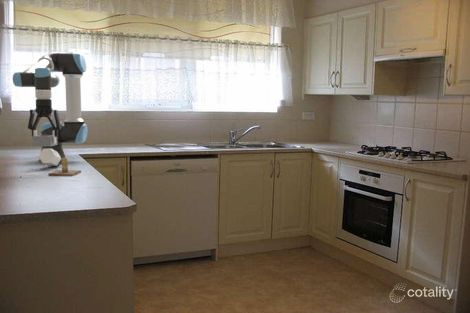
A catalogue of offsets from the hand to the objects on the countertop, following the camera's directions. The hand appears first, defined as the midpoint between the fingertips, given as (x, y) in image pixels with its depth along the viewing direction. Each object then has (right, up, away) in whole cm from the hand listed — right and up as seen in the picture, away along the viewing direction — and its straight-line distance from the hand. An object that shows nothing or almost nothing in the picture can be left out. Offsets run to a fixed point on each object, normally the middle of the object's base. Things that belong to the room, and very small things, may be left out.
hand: (45, 143), depth 254 cm
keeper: (+12, -16, -5) cm, 20 cm away
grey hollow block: (0, -1, 0) cm, 1 cm away
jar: (-3, -6, +11) cm, 13 cm away
